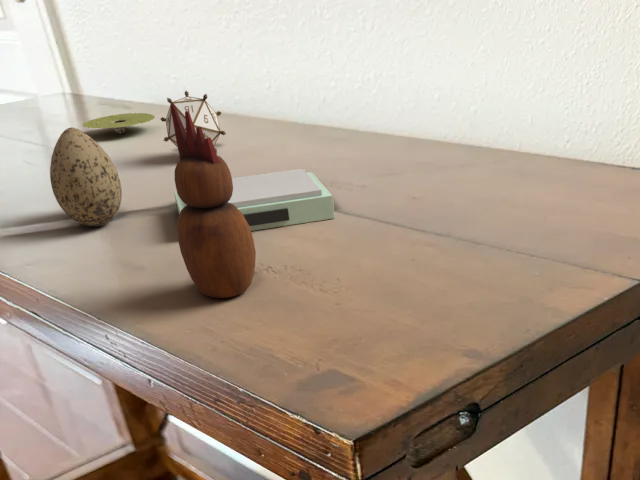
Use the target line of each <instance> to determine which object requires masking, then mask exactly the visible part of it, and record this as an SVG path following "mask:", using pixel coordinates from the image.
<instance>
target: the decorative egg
mask: <svg viewBox="0 0 640 480" xmlns="http://www.w3.org/2000/svg"><path fill="white" fill-rule="evenodd" d="M49 178H50V185H51V189H52V193H53V195H54V198H55V200H56V202H57V203H58V206H59V207H60V208H61V210H62V211H63V212H64V214H66V216H68V218H70V219H71V220H73V221H74V222H76V223H78V224H80V225H83V226H84V227H85V226H86V227H90V228H91V227H93V228H94V227H95V228H98V227H102V226H104V225H107V224H108V223H109V222H110V221H112V220H113V219H114V218H115V217H116V215H117V214H118V212H119V209H120V207H121V203H122V197H123V190H122V189H123V188H122V183H121V180H120V175H119V173H118V170H117V168H116V166H115V165H114V163H113V161H112V159H111V157H110V156H109V155H108V153H107V152H106V151H105V150H104V149H103V148H102V146H101V145H100V144H99V143H98V142H97V141H96V140H94V138H93V137H91V136H89V135H88V134H87V133H85V132H84V131H82V130H81V129H79V128H77V127H67V128H66V129H65V130H63V131H62V133H61V134H60V136H59V138H58V139H57V140H56V143H55V145H54V147H53V151H52V154H51V158H50V165H49Z"/></svg>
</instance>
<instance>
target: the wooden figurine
mask: <svg viewBox="0 0 640 480" xmlns="http://www.w3.org/2000/svg"><path fill="white" fill-rule="evenodd" d="M169 104H170V103H169ZM170 107H171V113H172V119H173V124H174V130H175V135H176V141H177V146H178V147H177V146H176V147H177V151H178V157H179V161H178V162H176V165H175V168H174V184H175V188H176V190H177V193H178V196H179V197H180V199H181V200H182V201H183V202H184V203H185V204H186V205H187V206H185V207H184V208H183V209H182V210H181V212H180V214H179V213H178V217H177V221H176V234H177V242H178V247H179V251H180V254H181V257H182V259H183V262H184V265H185V269H186V270H187V272H188V275H189V277H190V278H191V281H192V283H193V284H194V286H195V287H196V288H197V290H198V291H199V292H200V293H202V294H203V295H205V296H207V297H211V298H216V299H228V298H233V297H235V296H239V295H241V294H243V293H245V292H246V291H247V290H248V289H249V287H250V286H251V285H252V282H253V278H254V275H255V268H256V256H257V254H256V252H257V251H256V246H255V241H254V239H255V238H254V236H253V234H252V231H251V230H250V227H249V225H248V223H247V221H246V219H245V217H244V215H243V214H242V213H241V212H240V210H239V209H238V208H237V207H236V206H235V205H233V204H232V203H229V202H228V201H229V200H230V198H231V196H232V192H233V182H232V178H233V177H232V173H231V171H230V168H229V165H228V164H227V162H226V161H225V160H224V159H223V158H222V157H221V156H220V155H218V153H216V151H215V148H216V147H215V146H214V145H213V142H212V140H211V138H210V137H209V138H206V139H205V137H204V134H203V131H202V128H201V127H200V126H199V127H196V131H195V128H194V125H193V122H192V119H191V116H190V113H189V111H185V120H186V131H185V129H184V126H183V124H182V121H181V119H180V117H179V114H178V112H177V110H176V107H175V105H174V104H170V105H169V108H170ZM176 190H175V191H176Z"/></svg>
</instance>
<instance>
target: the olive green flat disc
mask: <svg viewBox="0 0 640 480" xmlns="http://www.w3.org/2000/svg"><path fill="white" fill-rule="evenodd" d="M154 119H155V114H151V113H145V112H139V113H138V112H137V113H136V112H134V113H131V112H127V113H120V114H111V115H106V116H102V117H101V116H100V117H97V118H93V119H90V120H88V121H85V122H83V123H82V126H83V127H84V128H88V129H89V128H90V129H114V132H115V133H116V134H120V135H122V134H124V133H126V131H127V130H128V127H131V126H135V125H139V124H143V123H148V122H151V121H153V120H154Z"/></svg>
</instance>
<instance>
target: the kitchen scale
mask: <svg viewBox="0 0 640 480" xmlns="http://www.w3.org/2000/svg"><path fill="white" fill-rule="evenodd" d="M232 182H233V192H232V196H231V198H230V200H229V201H228V202H229V203H232V204H233V205H235V206H236V207H237V208H238V209H239V210H240V212H241V213H242V214H243V215H244V217H245V219H246V221H247V223H248V225H249V227H250V230H251V232H253V231H259V230H265V229H272V228H274V229H275V228H280V227H288V226H294V225H299V224H300V225H301V224H307V223H314V222H319V221H327V220H332V219H335V218H336V217H335V216H336V215H335V206H334V198H333V194H332V193H331V192H330V191H329V190H328V189H327V188H326V187H325V186H324V184H323V183H322V182H321V181H320V180H319V179H318V178H317V177H316V175H315V174H314V173H313V172H312V171H308V172H307V171H306V170H305V169H304V168H298V169H289V170H281V171H275V172H269V173H261V174H253V175H246V176H239V177H232ZM173 195H174V198H175V204H176V208H177V213H178V215H179V214H180V212H181V210H182V209H183V208H184V207H185V206H187V205H186V204H185V203H184V202H183V201H182V200H181V199H180V197H179V196H178V193H177V190H173Z"/></svg>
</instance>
